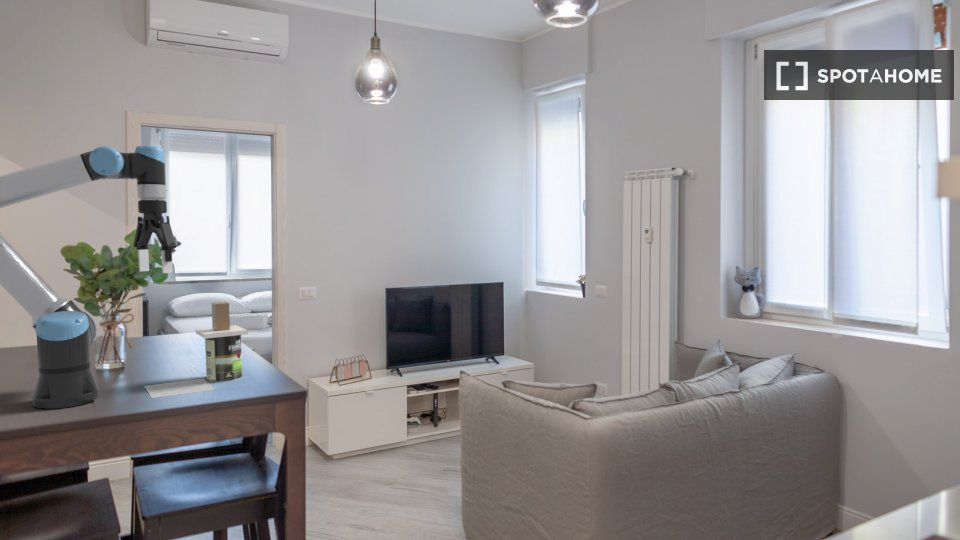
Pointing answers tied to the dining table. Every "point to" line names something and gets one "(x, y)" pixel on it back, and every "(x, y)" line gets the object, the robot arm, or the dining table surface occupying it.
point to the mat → (178, 388)
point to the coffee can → (223, 358)
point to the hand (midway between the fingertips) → (155, 272)
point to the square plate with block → (220, 323)
